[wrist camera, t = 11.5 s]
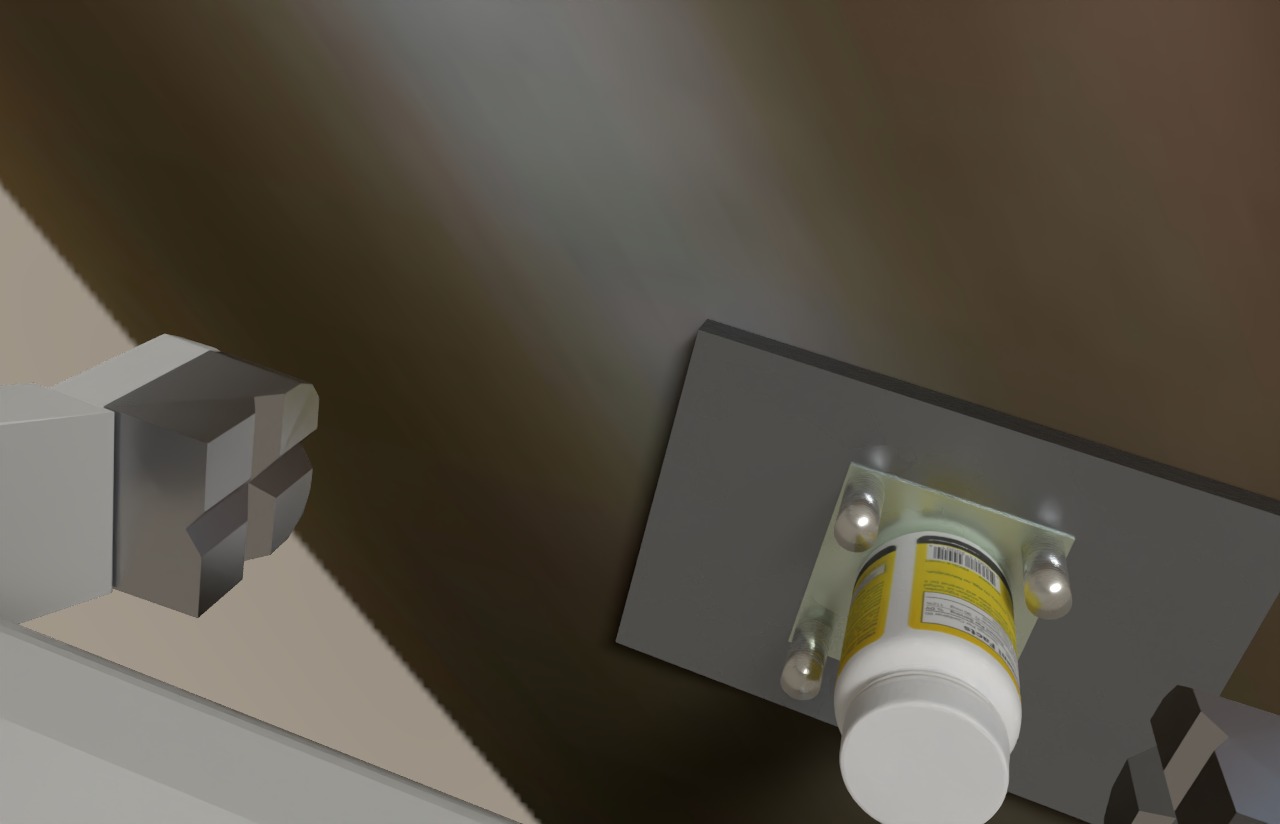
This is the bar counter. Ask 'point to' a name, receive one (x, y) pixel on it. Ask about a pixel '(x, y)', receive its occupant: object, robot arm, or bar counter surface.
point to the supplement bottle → (928, 683)
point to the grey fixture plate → (951, 503)
